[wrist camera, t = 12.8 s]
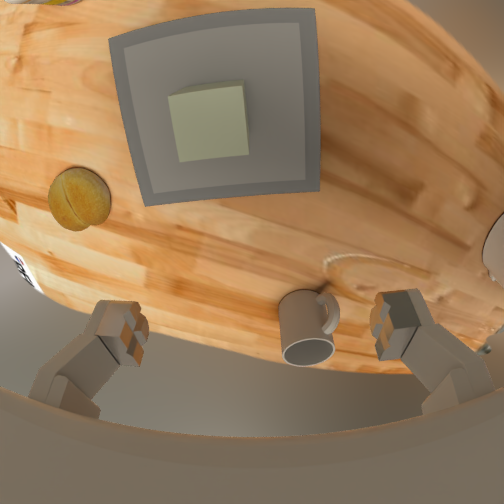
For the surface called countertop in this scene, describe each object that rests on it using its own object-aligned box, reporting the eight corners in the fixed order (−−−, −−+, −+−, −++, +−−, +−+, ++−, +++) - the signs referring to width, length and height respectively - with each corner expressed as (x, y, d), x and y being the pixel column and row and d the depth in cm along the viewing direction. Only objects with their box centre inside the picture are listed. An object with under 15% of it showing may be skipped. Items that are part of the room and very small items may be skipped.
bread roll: (122, 212, 35) (111, 230, 31) (73, 228, 36) (61, 245, 33) (96, 155, 30) (80, 168, 26) (47, 178, 31) (31, 193, 28)
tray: (306, 14, 21) (315, 8, 17) (312, 175, 32) (320, 192, 28) (124, 39, 22) (106, 38, 18) (155, 189, 33) (144, 208, 29)
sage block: (244, 79, 22) (242, 85, 17) (249, 133, 25) (248, 154, 20) (185, 86, 22) (167, 96, 17) (193, 139, 25) (179, 162, 20)
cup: (268, 309, 45) (271, 357, 38) (313, 269, 40) (324, 319, 33) (302, 324, 48) (309, 370, 41) (346, 289, 43) (361, 337, 36)
